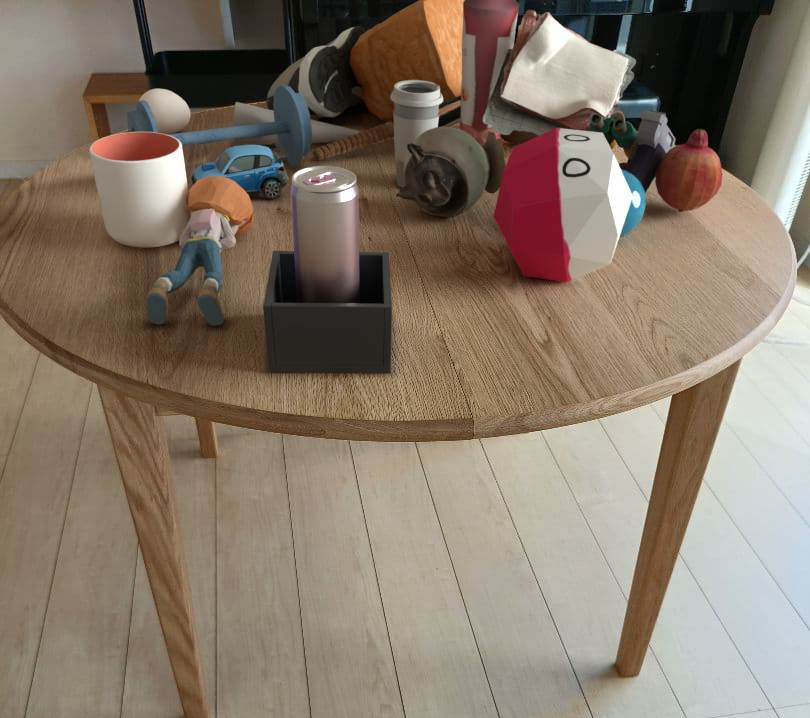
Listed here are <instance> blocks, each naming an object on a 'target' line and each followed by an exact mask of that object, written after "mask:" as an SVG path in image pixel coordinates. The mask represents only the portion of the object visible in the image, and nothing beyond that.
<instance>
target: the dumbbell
mask: <svg viewBox="0 0 810 718" xmlns="http://www.w3.org/2000/svg"><path fill="white" fill-rule="evenodd" d="M273 108H274V121H275V122H268V123H259V124H251V125H243V126H235V127H233V126H227V127H218V128H212V129H203V130H194V131H185V132H177V133H174V134H168V135H170V136H172V137H175V138H176V139H178V140H179V141H180V142H181V144H182V147H186V146H194V145H202V144H211V143H218V142H225V141H234V139H242V138H250V137H258V136H266V135H274V134H277V137H278V140H279V141H281V143H282V144H283V145H284V147H285V148H286V149H287V151H288V156H287V158H286V161H287V162H288V164H290V165H292V166H294V167H295V166H298V165H300V164H301V163H302V160H303V159H304V157H306V156H308V155H309V153H310V151H311V148H312V143H311V141H312V126H311V119H310V114H309V110H308V106H307V104H306V101H305V99H304V98H303V96H302V95H301V94H299V93H295V92H294V91H293V89H292V88H291V87H290V86H287V85H283V86H279V87H278V88H277V89H276V91H275V94H274V103H273ZM126 120H127V122H126V123H127V129H128V132H156V133H158V129H157V126H156V122H155V119H154V116H153V113H152V111H151V108H150V106H149V104H148V103H147V101H145V100H142V101H139V100H138V101H137V103H136V110H131V111H127V113H126Z"/></svg>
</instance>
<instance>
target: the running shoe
mask: <svg viewBox="0 0 810 718" xmlns="http://www.w3.org/2000/svg"><path fill="white" fill-rule="evenodd" d="M365 32H366V30H365V28H364V27H362V26H361V25H356V26H353V27H350V28H347V29H346V30H344V31H342V32H341V33H340V34H339V35H338V36H337V38H335V39H333V40H331V42H329V43H328V44H326V45H320V46H316V47H315V46H314V47H313V48H311V50H310V51H308V52H307V54H305V56H303V57H301V58H299V59H298V60H297V61H295V62H293V63H292V64H290V66H288V67H287V68H286V69H285V70H284V71H283V72H282V73H281V74H280V75H278V77H277V78H276V79H275V81H274V82H273V83H272V84H271V87H269V90H268V92H267V95H266V107H267V109H268V110H273V111H274V108H273V103H274V94H275V91H276V89H277V88H278V87H279V86H283V85H287V86H290V87H291V88H292V89H293V91H294V92H295V93H299V94H301V95H302V96H303V98H304V99H305V101H306V104H307V106H308V110H309V114H310V119H311V120H315V121H318V120H319V119H322V118H336V117H337V116H339V115H340V114H342V113H343V112H344V111H345V110H347V109H348V108H351V107H354V106H358V105H360V104H363V103H364V104H365V101H364V99H363V97H362V94H361V91H362V86H361V85H360V84H359V83H358V82H356V79H355V76H354V73H353V71H352V68H351V65H350V56H351V50H352V48H353V47H354V45H355V44H356V43H357V41H358V39H359V37H360V36H361V35H362V34H364V33H365Z"/></svg>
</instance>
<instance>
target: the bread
mask: <svg viewBox="0 0 810 718" xmlns="http://www.w3.org/2000/svg"><path fill="white" fill-rule="evenodd" d="M464 1H465V0H417V1H415V2H413V3H412V4H410V5H407V6H406V7H404V8H403V9H401V10H399V11H398V12H395V13H394V14H392V15H391V16H390V17H388V18H386V19H385V20H383V21H382V22H381V23H377V24H376V25H374V26H373V27H372V28H369V29H368V30H365V33H364V34H362V35H361V36H360V37H359V39H358V41H357V43H356V44H355V45H354V47H353V48H352V50H351V56H350V65H351V68H352V71H353V73H354V76H355V79H356V82H358V83H359V84H360V85H361V86H362V91H361V94H362V97H363V99H364V101H365V102H364V104H365V106H366V108H367V111H368V112H369V113H371V114H372V115H373V116H375V117H377V118H378V119H379V120H381V121H383V122H392V123H393V122H394V116H393V111H394V102H393V101H392V100H391V98H390V96H391V93H392V91H393V90H394V85H395V84H396V83H398V82H401V81H407V80H422V81H429V82H432V83H435V84H437V85H439V86H440V93H441V94H442V96H443V102H444V101H447V100H450V99H452V98H456V97H457V96H460V95H461V85H462V31H463V2H464ZM445 107H446V106H444V107H442V108H441V109H443V108H445Z"/></svg>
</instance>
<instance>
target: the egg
mask: <svg viewBox="0 0 810 718" xmlns="http://www.w3.org/2000/svg"><path fill="white" fill-rule="evenodd" d="M142 100H145V101H147V103H148V104H149V106H150V108H151V111H152V113H153V116H154V119H155V122H156V126H157V129H158V133H162V134H166V135H168V134H177V133H180V132H181V131H183V130H184V129H185V128H186V127H187V126H188V124H189V123H190V120H191V115H192V114H191V109H190V107H189V105H188V104H187V102H186V101H185V100H184V99H183V98H182V97H181V96H179V94H177V93H175V92H173V91H172V90H169V89H165V88H152V89H149V90H148V91H146V92H144V93H143V94H142V95H141V96H140V98H139V99H138V101H142Z"/></svg>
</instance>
